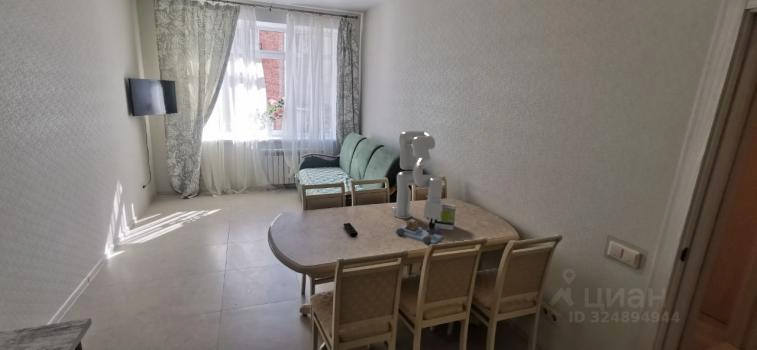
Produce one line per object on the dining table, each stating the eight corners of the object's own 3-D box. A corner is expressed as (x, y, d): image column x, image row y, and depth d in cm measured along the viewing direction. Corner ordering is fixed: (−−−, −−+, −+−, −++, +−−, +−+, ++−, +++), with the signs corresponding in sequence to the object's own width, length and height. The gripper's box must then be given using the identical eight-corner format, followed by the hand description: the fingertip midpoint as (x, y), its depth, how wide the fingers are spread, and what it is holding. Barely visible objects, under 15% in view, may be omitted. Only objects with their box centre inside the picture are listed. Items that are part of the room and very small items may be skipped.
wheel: (424, 235, 211) (425, 228, 210) (428, 233, 215) (429, 225, 214) (432, 238, 208) (433, 230, 207) (436, 235, 212) (437, 228, 211)
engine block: (406, 231, 218) (406, 220, 216) (410, 228, 222) (411, 218, 220) (413, 233, 215) (414, 222, 214) (417, 230, 219) (418, 220, 218)
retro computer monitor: (454, 225, 235) (456, 204, 231) (453, 231, 226) (455, 209, 222) (431, 222, 239) (433, 201, 235) (429, 227, 229) (431, 205, 226)
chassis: (393, 233, 217) (394, 226, 216) (406, 226, 230) (407, 219, 229) (432, 245, 203) (433, 238, 202) (443, 237, 216) (444, 230, 215)
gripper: (419, 197, 207) (417, 227, 211) (443, 203, 199) (440, 233, 203) (425, 194, 213) (423, 223, 217) (448, 200, 205) (446, 229, 209)
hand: (431, 228), depth 210 cm, fingers closed
